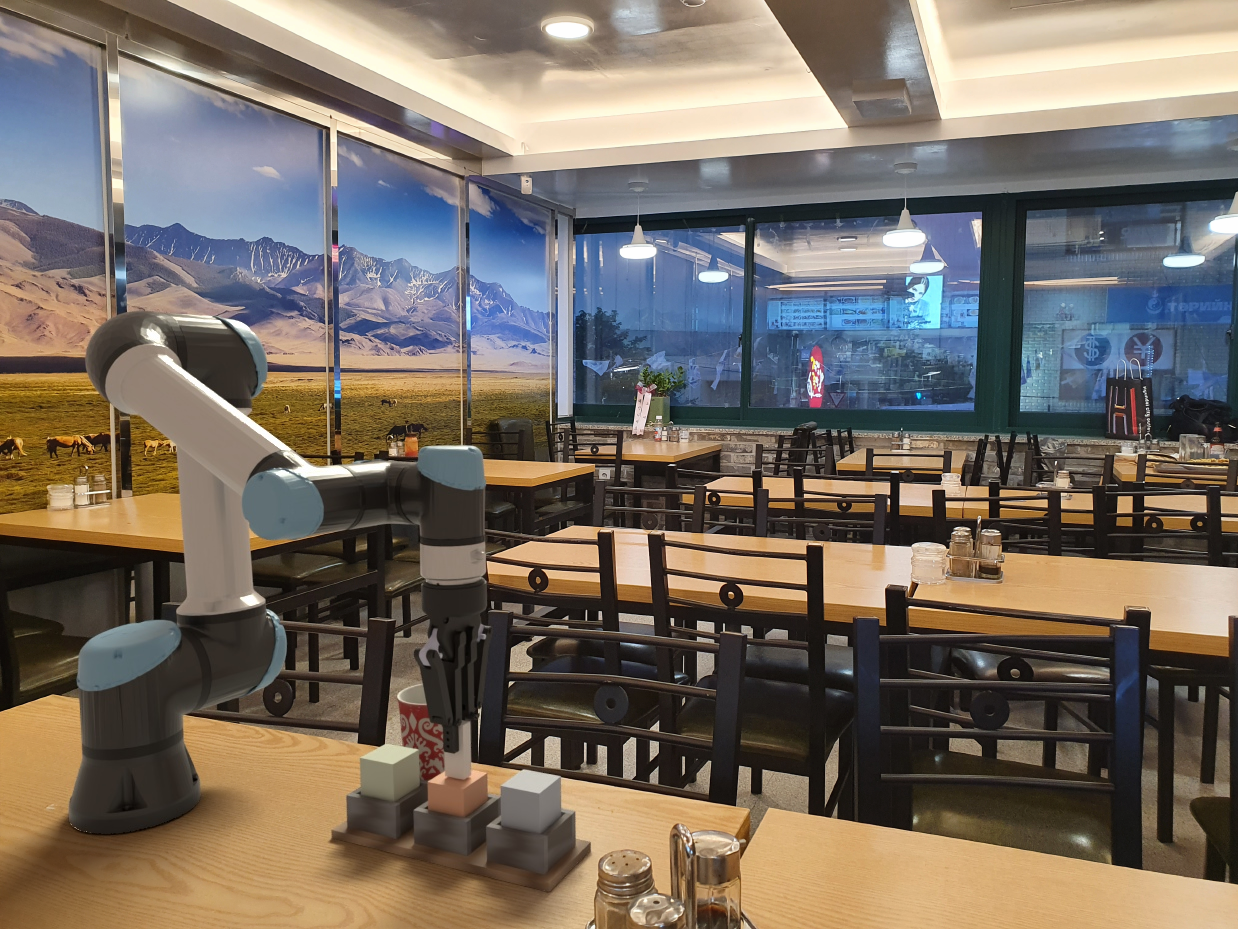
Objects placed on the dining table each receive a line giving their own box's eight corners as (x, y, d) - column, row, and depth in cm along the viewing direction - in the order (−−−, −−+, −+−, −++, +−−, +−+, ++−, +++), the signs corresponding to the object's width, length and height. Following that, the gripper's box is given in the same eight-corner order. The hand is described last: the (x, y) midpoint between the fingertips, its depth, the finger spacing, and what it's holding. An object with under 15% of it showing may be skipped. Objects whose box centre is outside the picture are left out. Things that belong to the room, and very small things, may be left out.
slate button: (501, 837, 102) (500, 785, 102) (524, 819, 107) (523, 769, 106) (540, 846, 100) (539, 793, 100) (561, 827, 105) (560, 776, 104)
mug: (444, 809, 117) (442, 707, 116) (385, 798, 120) (383, 699, 119) (492, 772, 129) (490, 678, 128) (437, 763, 132) (435, 672, 131)
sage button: (361, 805, 111) (359, 757, 110) (387, 789, 115) (386, 743, 115) (394, 813, 108) (392, 764, 108) (419, 796, 113) (418, 749, 113)
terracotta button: (428, 831, 106) (427, 781, 106) (453, 814, 111) (452, 766, 111) (464, 840, 104) (463, 789, 104) (488, 821, 109) (487, 773, 108)
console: (331, 837, 110) (330, 797, 109) (385, 804, 119) (384, 767, 118) (549, 892, 97) (548, 847, 97) (590, 850, 106) (590, 808, 106)
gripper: (447, 591, 98) (452, 803, 100) (511, 570, 110) (514, 760, 112) (391, 586, 101) (397, 791, 103) (459, 566, 113) (463, 751, 115)
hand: (458, 775), depth 107 cm, fingers closed
